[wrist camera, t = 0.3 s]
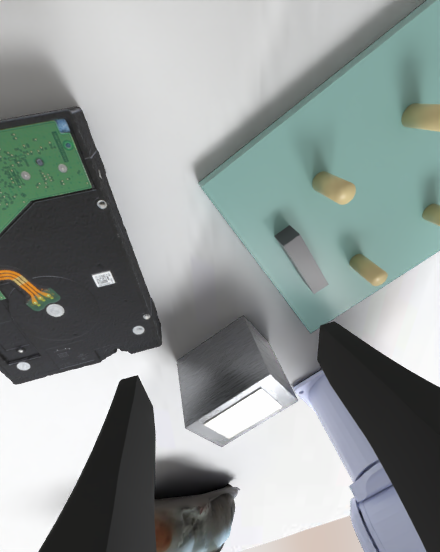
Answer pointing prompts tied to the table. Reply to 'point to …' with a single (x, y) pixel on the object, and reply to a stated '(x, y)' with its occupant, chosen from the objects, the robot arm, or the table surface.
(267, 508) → the table surface
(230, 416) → the dark grey block
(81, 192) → the disk drive
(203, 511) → the grey lumpy piece
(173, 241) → the table surface
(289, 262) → the teal peg board
